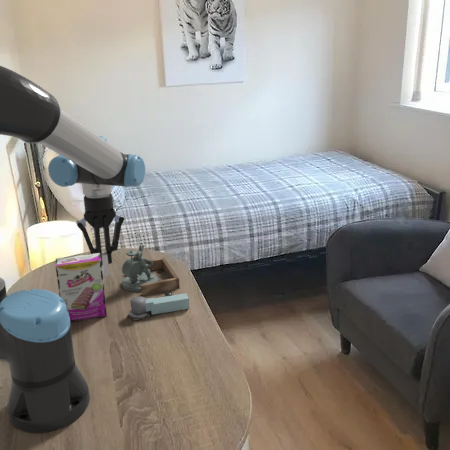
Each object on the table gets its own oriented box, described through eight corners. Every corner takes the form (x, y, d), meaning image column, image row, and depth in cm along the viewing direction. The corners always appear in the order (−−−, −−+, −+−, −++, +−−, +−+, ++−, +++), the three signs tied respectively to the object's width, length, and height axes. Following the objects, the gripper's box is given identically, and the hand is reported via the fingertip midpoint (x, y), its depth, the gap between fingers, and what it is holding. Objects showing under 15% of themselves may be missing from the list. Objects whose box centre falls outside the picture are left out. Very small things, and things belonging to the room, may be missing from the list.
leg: (189, 309, 132) (189, 296, 131) (132, 318, 128) (131, 305, 127) (186, 302, 136) (185, 289, 134) (130, 311, 132) (129, 297, 130)
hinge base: (132, 321, 128) (131, 312, 127) (126, 308, 134) (125, 300, 133) (179, 311, 132) (178, 302, 131) (171, 299, 138) (171, 291, 137)
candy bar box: (63, 324, 127) (54, 265, 121) (63, 314, 131) (54, 257, 126) (108, 316, 130) (101, 259, 124) (106, 307, 135) (99, 251, 129)
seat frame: (142, 295, 140) (141, 286, 139) (130, 272, 154) (129, 263, 153) (179, 288, 144) (179, 278, 143) (164, 266, 158) (164, 257, 157)
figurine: (166, 281, 148) (163, 244, 144) (138, 295, 140) (135, 256, 136) (142, 272, 154) (139, 236, 150) (114, 285, 147) (110, 247, 143)
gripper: (74, 201, 129) (84, 284, 137) (124, 195, 133) (131, 275, 141) (71, 193, 135) (80, 273, 143) (119, 188, 140) (126, 265, 148)
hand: (106, 274), depth 142 cm, fingers closed
